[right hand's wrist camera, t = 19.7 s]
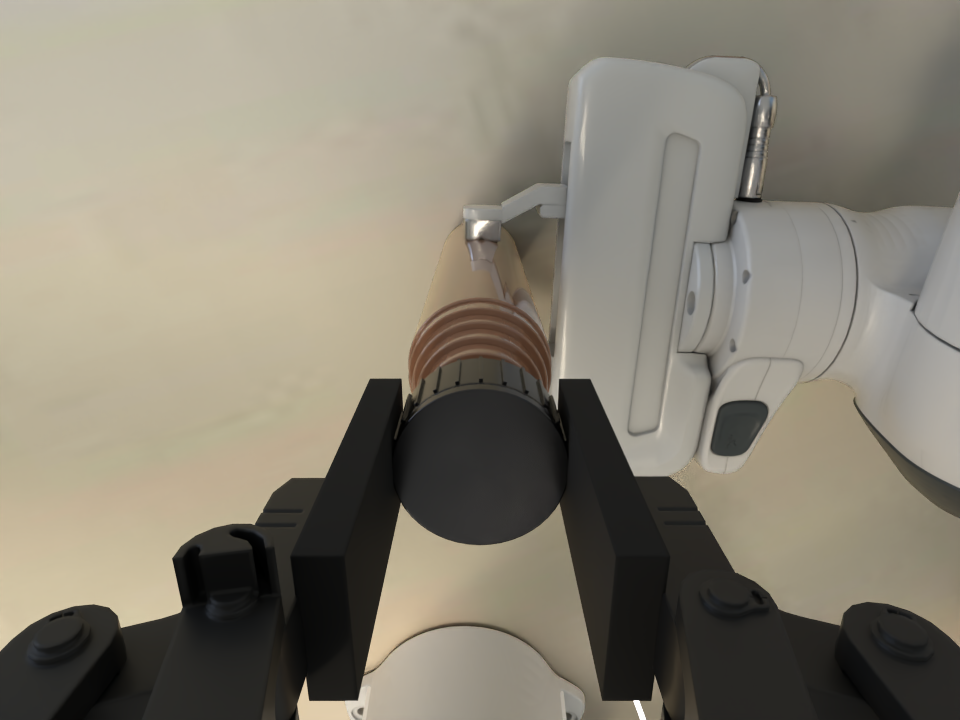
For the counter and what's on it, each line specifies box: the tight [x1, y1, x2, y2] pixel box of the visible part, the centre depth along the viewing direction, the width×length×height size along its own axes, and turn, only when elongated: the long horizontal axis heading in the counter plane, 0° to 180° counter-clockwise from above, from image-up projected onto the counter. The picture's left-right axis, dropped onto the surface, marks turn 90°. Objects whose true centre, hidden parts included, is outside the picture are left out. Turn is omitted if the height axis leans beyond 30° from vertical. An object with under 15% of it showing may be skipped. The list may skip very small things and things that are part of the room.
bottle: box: [408, 223, 552, 393], centre depth 25 cm, size 4×4×24 cm
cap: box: [392, 356, 568, 545], centre depth 14 cm, size 4×4×2 cm
